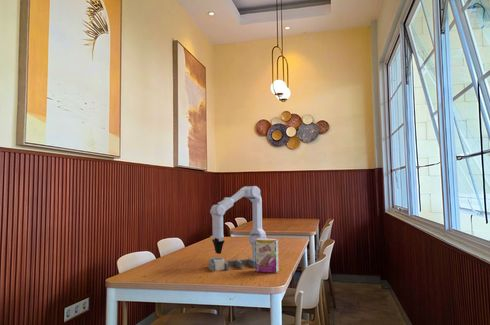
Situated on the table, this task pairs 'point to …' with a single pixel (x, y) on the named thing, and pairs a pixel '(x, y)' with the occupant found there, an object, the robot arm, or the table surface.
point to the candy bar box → (266, 255)
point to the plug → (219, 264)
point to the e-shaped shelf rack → (232, 263)
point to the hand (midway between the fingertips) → (218, 253)
